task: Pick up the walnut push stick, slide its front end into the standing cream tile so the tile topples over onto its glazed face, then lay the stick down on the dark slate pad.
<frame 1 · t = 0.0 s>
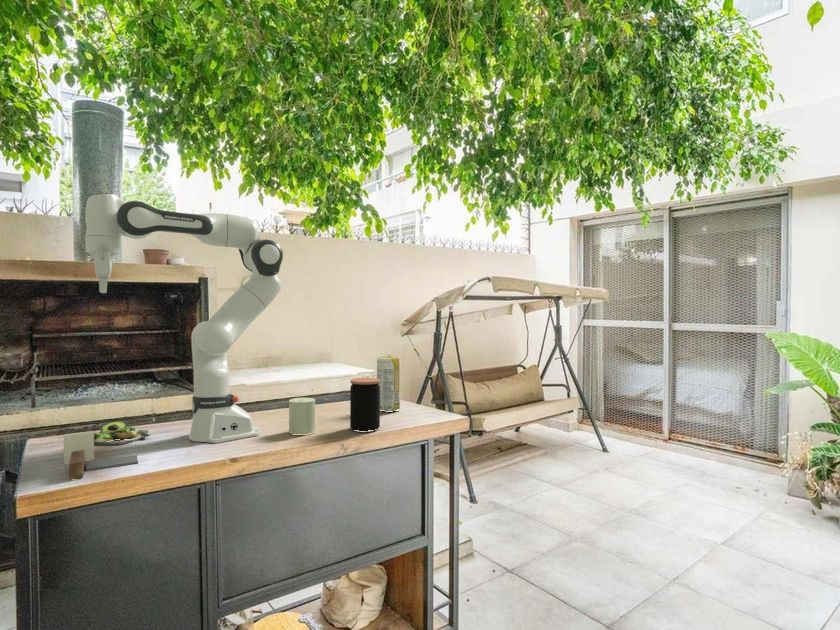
hand: (103, 293, 149), 48 cm above the countertop, tool pointing down, fingers open, 8 cm apart
juice carton: (388, 411, 210), on the countertop
salad plate: (117, 439, 164), on the countertop
pad: (112, 463, 138), on the countertop
tile: (79, 461, 140), on the countertop
coffee jar: (365, 429, 178), on the countertop
can: (302, 433, 173), on the countertop
push stick: (77, 473, 130), on the countertop
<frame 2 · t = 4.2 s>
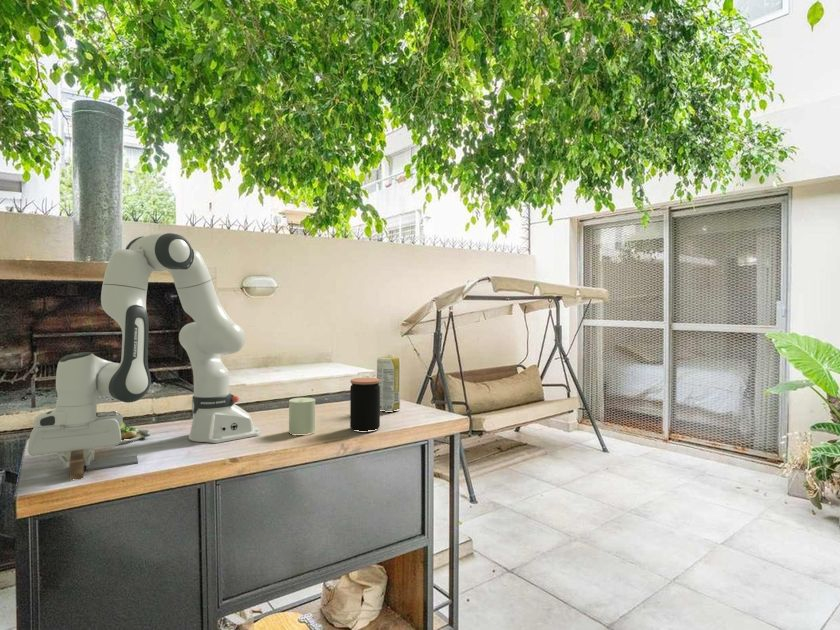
hand: (76, 466, 130), 2 cm above the countertop, tool pointing down, fingers closed on push stick, 3 cm apart
push stick: (77, 473, 130), on the countertop, touching gripper
everything else where it was.
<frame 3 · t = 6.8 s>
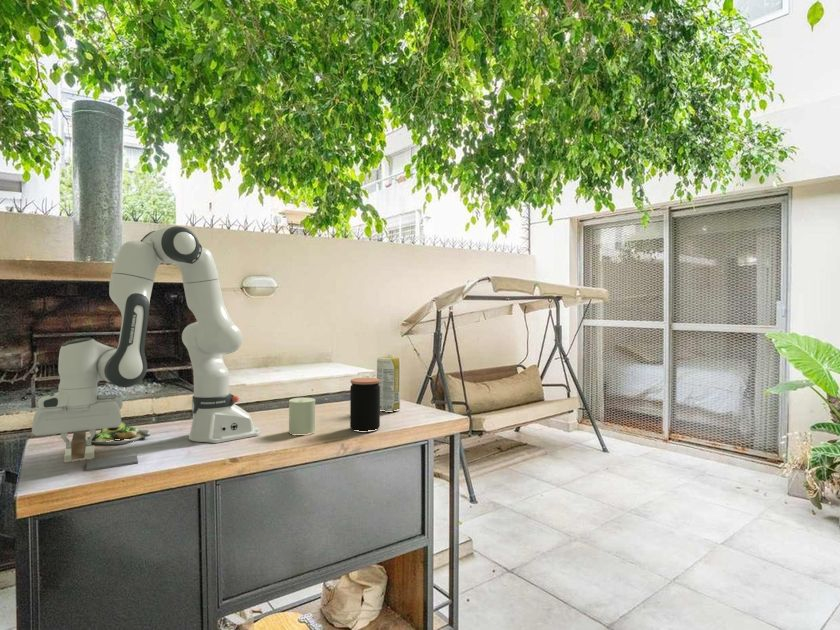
hand: (78, 447, 136), 5 cm above the countertop, tool pointing down, fingers closed on push stick, 3 cm apart
tile: (79, 457, 141), point 1 cm above the countertop, tilted 90°
push stick: (78, 452, 136), point 3 cm above the countertop, touching gripper
everything else where it was.
when the fingers open (3 cm above the countertop, at t = 11.1 s): push stick stays where it is, resting on pad.
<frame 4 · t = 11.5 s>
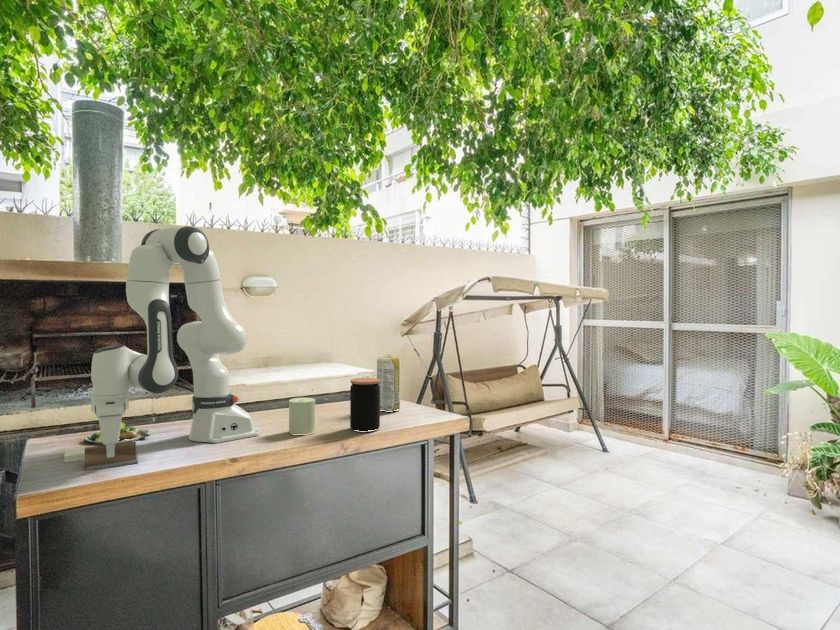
hand: (110, 452, 138), 3 cm above the countertop, tool pointing down, fingers open, 7 cm apart
push stick: (110, 461, 138), point 1 cm above the countertop, touching pad
everything else where it was.
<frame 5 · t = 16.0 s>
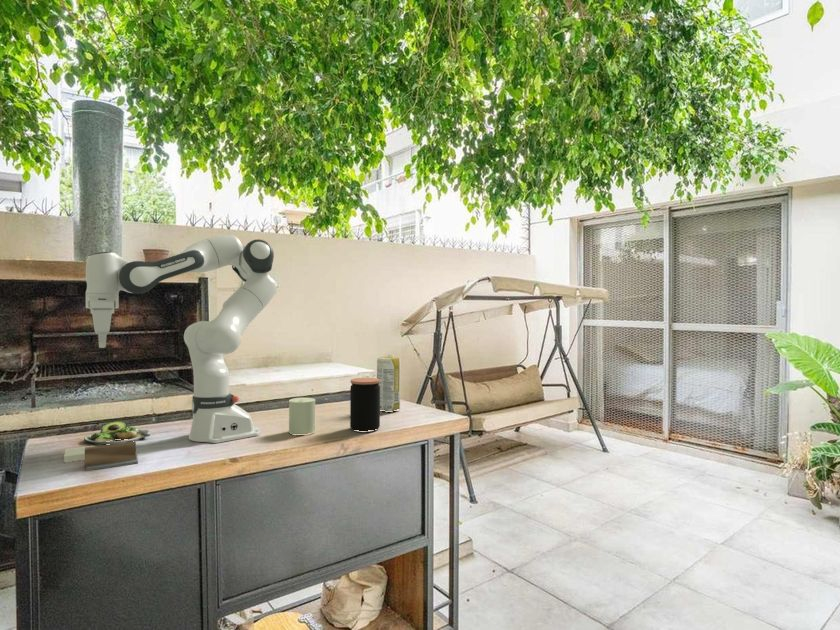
hand: (102, 346, 156), 31 cm above the countertop, tool pointing down, fingers open, 8 cm apart
nothing on the countertop moved.
at the end: tile tilted 90°; push stick inside the target area on the pad (0.4 cm from its centre), point 0.6 cm above the pad's base; the gripper is holding nothing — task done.
